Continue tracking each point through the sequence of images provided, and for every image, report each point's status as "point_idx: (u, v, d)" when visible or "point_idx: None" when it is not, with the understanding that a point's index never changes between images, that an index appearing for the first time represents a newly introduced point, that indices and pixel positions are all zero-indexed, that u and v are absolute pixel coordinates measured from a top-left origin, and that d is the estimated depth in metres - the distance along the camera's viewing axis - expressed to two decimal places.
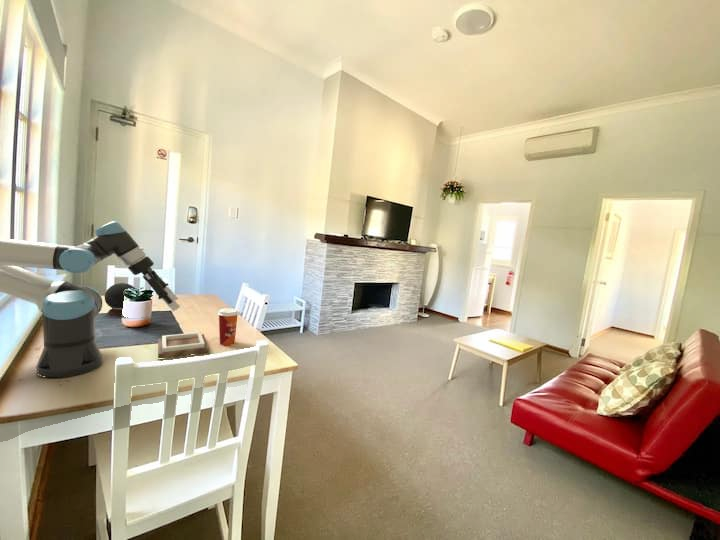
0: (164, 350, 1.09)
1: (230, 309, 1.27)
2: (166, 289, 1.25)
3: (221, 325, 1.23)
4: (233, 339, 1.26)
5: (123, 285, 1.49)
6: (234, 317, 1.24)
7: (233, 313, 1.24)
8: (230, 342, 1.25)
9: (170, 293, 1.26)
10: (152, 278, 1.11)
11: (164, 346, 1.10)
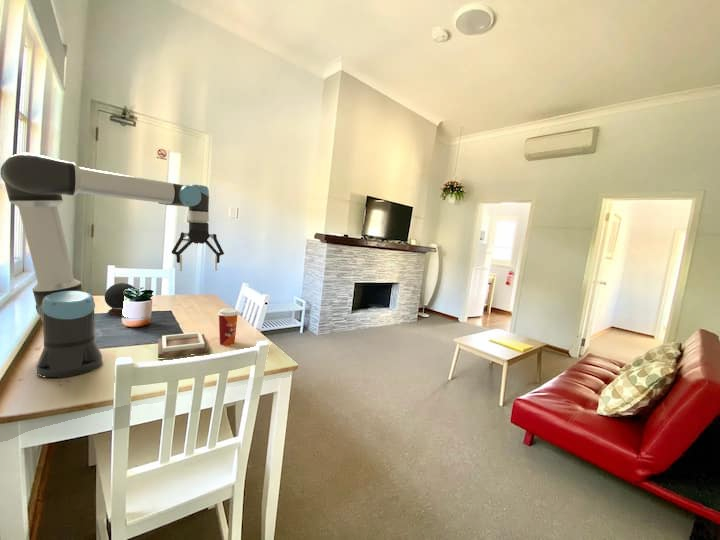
0: (164, 350, 1.09)
1: (230, 309, 1.27)
2: (181, 257, 1.32)
3: (221, 325, 1.23)
4: (233, 339, 1.26)
5: (123, 285, 1.49)
6: (234, 317, 1.24)
7: (233, 313, 1.24)
8: (230, 342, 1.25)
9: None
10: None
11: (164, 346, 1.10)
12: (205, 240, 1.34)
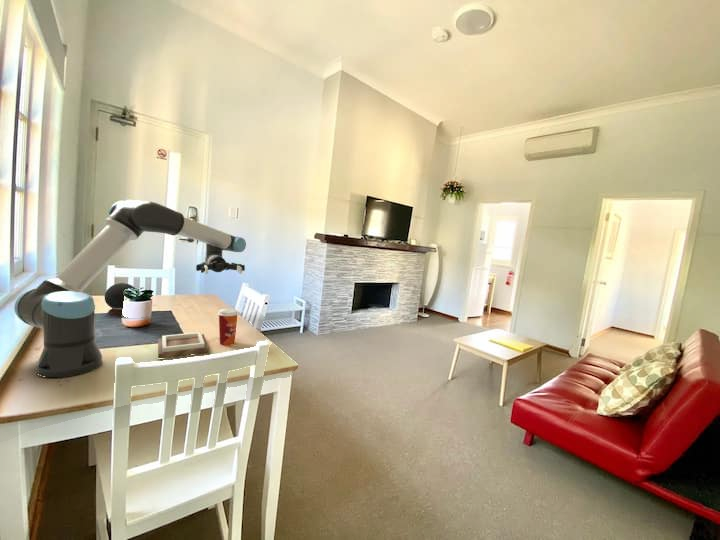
0: (164, 350, 1.09)
1: (230, 309, 1.27)
2: None
3: (221, 325, 1.23)
4: (233, 339, 1.26)
5: (123, 285, 1.49)
6: (234, 317, 1.24)
7: (233, 313, 1.24)
8: (230, 342, 1.25)
9: None
10: None
11: (164, 346, 1.10)
12: (225, 262, 1.45)
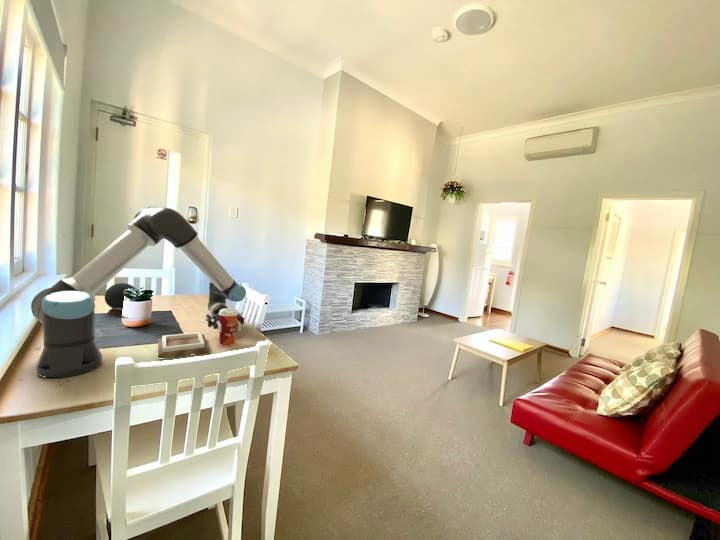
0: (164, 350, 1.09)
1: (230, 309, 1.27)
2: None
3: (221, 325, 1.23)
4: (233, 339, 1.26)
5: (123, 285, 1.49)
6: (235, 317, 1.24)
7: (233, 313, 1.24)
8: (230, 342, 1.25)
9: None
10: None
11: (164, 346, 1.10)
12: None
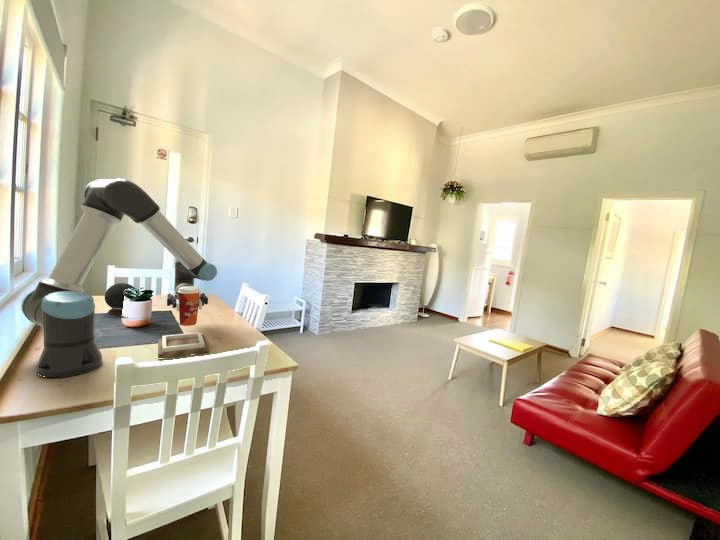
0: (164, 350, 1.09)
1: (191, 287, 1.18)
2: None
3: (180, 303, 1.14)
4: (194, 319, 1.17)
5: (123, 285, 1.49)
6: (195, 295, 1.15)
7: (194, 291, 1.15)
8: (190, 322, 1.16)
9: None
10: None
11: (164, 346, 1.10)
12: None
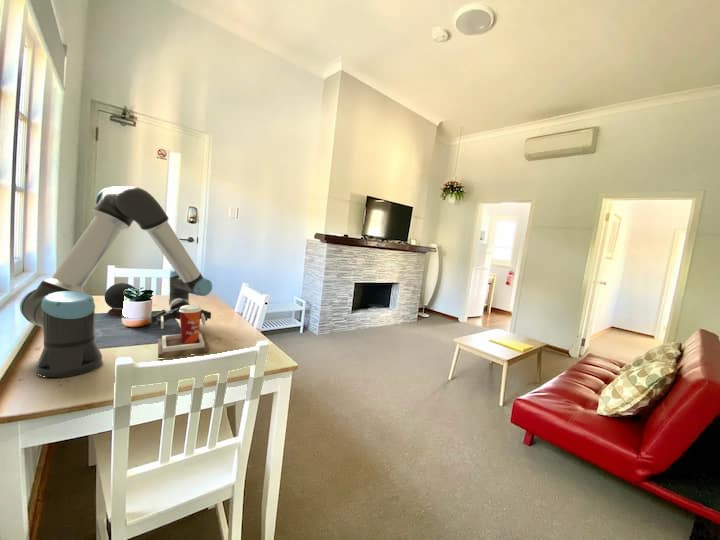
0: (164, 350, 1.09)
1: (192, 306, 1.20)
2: None
3: (182, 322, 1.16)
4: (196, 337, 1.19)
5: (123, 285, 1.49)
6: (196, 314, 1.17)
7: (194, 310, 1.16)
8: (192, 340, 1.18)
9: None
10: None
11: (164, 346, 1.10)
12: None
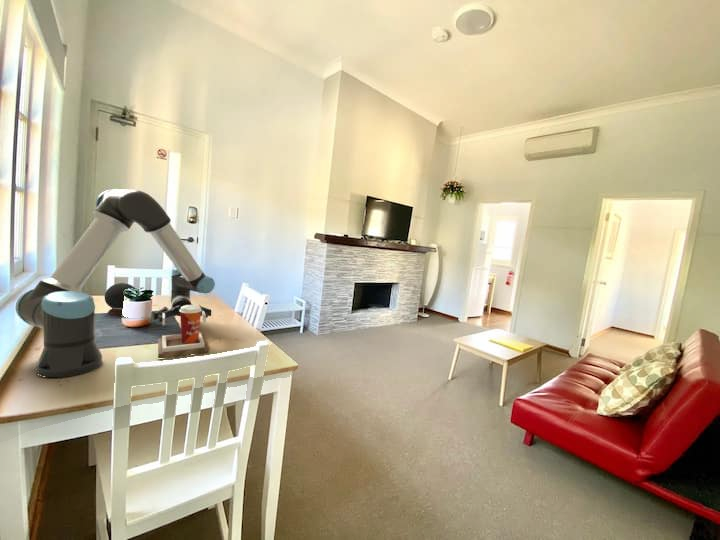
0: (164, 350, 1.09)
1: (192, 306, 1.19)
2: None
3: (182, 323, 1.16)
4: (196, 338, 1.19)
5: (123, 285, 1.49)
6: (197, 314, 1.17)
7: (195, 310, 1.16)
8: (192, 341, 1.18)
9: None
10: None
11: (164, 346, 1.10)
12: None
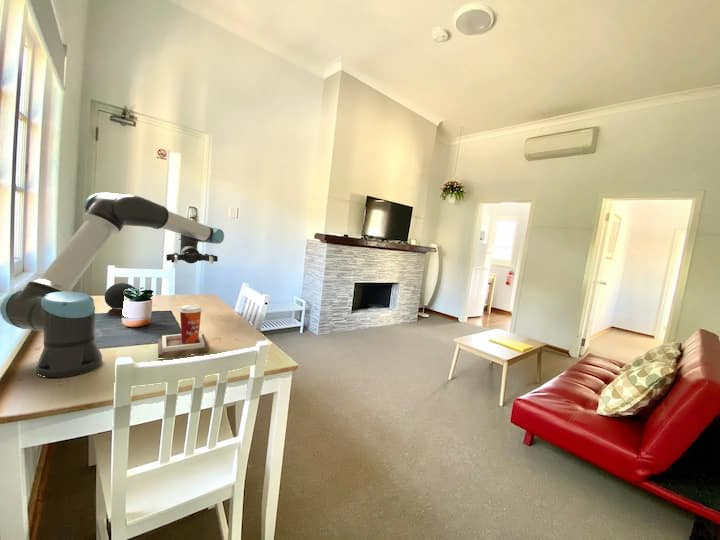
0: (164, 350, 1.09)
1: (192, 306, 1.20)
2: None
3: (182, 322, 1.16)
4: (196, 337, 1.19)
5: (123, 285, 1.49)
6: (197, 314, 1.17)
7: (195, 310, 1.16)
8: (192, 341, 1.18)
9: None
10: None
11: (164, 346, 1.10)
12: (197, 253, 1.44)
